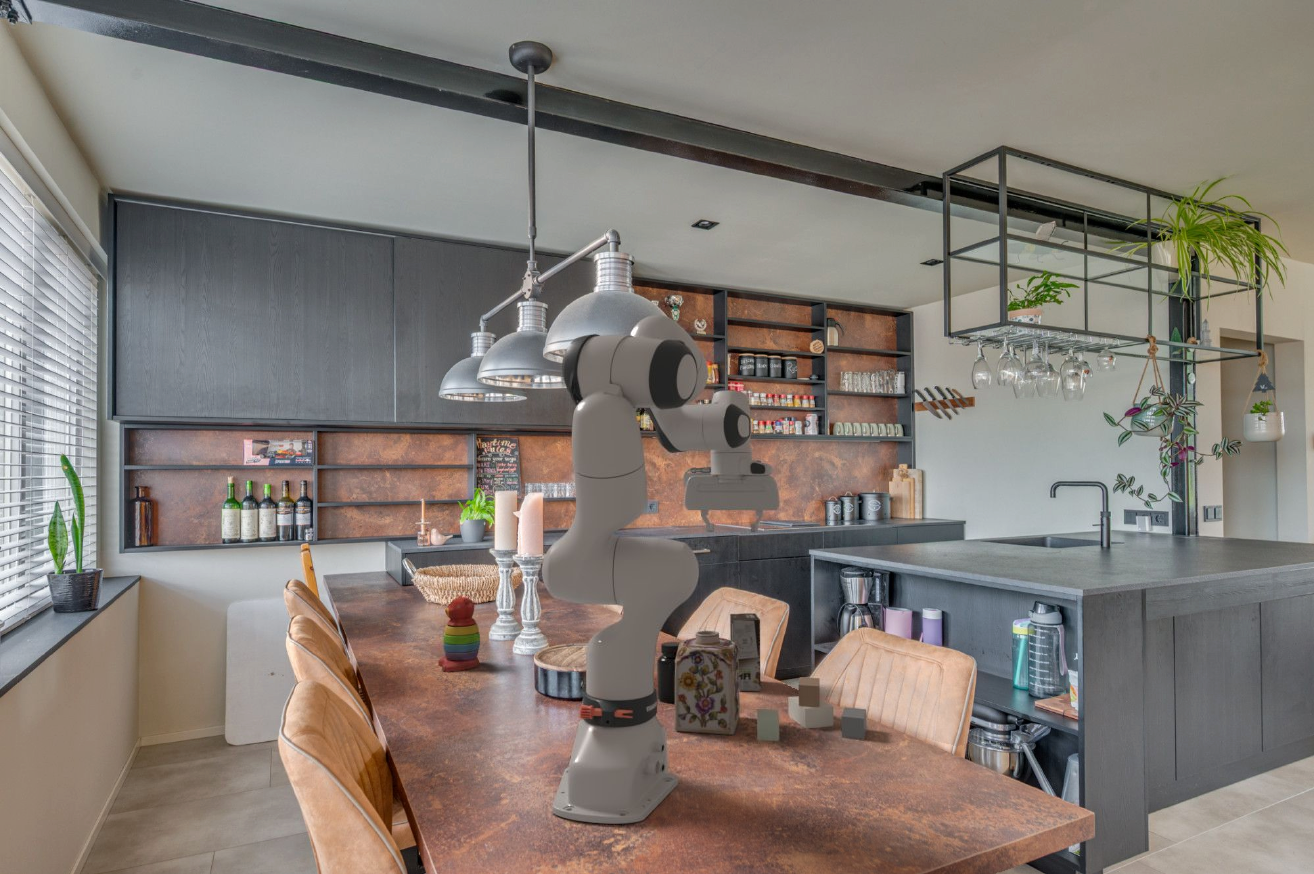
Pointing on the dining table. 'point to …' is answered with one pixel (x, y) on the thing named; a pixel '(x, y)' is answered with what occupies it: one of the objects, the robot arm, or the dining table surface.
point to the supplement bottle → (667, 672)
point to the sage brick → (767, 725)
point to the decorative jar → (707, 685)
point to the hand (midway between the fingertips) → (732, 532)
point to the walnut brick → (809, 692)
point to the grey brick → (854, 723)
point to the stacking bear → (460, 637)
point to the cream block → (811, 713)
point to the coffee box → (747, 649)
